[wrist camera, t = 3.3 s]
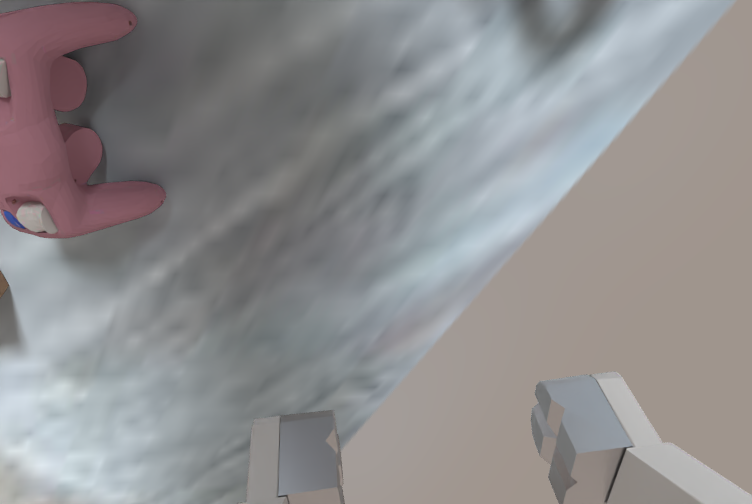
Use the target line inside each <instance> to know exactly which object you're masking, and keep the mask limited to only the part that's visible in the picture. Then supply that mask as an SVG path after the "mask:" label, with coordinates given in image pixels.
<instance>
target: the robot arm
mask: <svg viewBox="0 0 752 504" xmlns="http://www.w3.org/2000/svg"><path fill="white" fill-rule="evenodd" d="M535 395H536V398H537V400H538V404H537V405H536V406H534V408H532V415H531V425H532V434H533V438H534V441H535V445H536V447H537V450H538V453H539V455H540V457H542V458H543V459H544V460H546V461H547V462H548V463H549V464H551V467H550V472H549V476H548V478H549V480H550V483H551V485H552V488H553V490H554V492H555V495H556V497H557V500H558V502H559V504H752V495H750V494H748V493H747V492H745V491H744V490H743V489H741V488H740V487H738V486H736V485H735V484H734V483H732V482H730V481H729V480H727V479H726V478H724V477H723V476H721V475H720V474H718V473H717V472H715V471H714V470H712V469H711V468H709V467H708V466H706V465H705V464H703V463H702V462H700V461H699V460H697V459H695V458H694V457H692V456H691V455H689V454H688V453H686V452H685V451H683V450H682V449H680V448H679V447H677V446H676V445H674V444H673V443H671V442H668V443H663V442H662V441H661V439H660V437H659V436H658V434H657V433H656V431H655V429H654V428H653V426H652V425H651V423H650V421H649V420H648V418H647V417H646V415H645V413H644V412H643V410H642V409H641V407H640V405H639V404H638V402H637V401H636V399H635V397H634V396H633V394H632V392H631V391H630V389H629V388H628V386H627V384H626V383H625V381H624V380H623V378H622V376H621V375H620V374H618V373H617V372H606V373H600V374H593V375H580V376H573V377H567V378H561V379H553V380H547V381H540V382H539V383H538V384H537V385H536V390H535ZM342 485H343V473H342V462H341V452H340V444H339V437H338V434H337V430H336V419H335V414H334V410H327V411H318V412H309V413H299V414H290V415H280V416H272V417H264V418H257V419H254V422H253V425H252V431H251V443H250V456H249V469H248V482H247V494H246V502H241V503H238V504H345V503H344V496H343V490H342Z"/></svg>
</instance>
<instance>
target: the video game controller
mask: <svg viewBox="0 0 752 504" xmlns="http://www.w3.org/2000/svg"><path fill="white" fill-rule="evenodd" d="M136 25H137V18H136V16H135V15H134V14H133V13H132V12H131V11H129V10H128V9H126V8H124V7H121V6H119V5H116V4H111V3H98V2H70V3H62V4H53V5H45V6H38V7H33V8H27V9H22V10H17V11H12V12H6V13H1V14H0V209H1V214H2V215H3V217H4V219H5V221H6V222H7V223H8V224H9V225H10V226H11V227H13V228H14V229H16V230H18V231H21V232H24V233H28V234H32V235H36V236H39V237H44V238H71V237H76V236H80V235H84V234H88V233H91V232H94V231H98V230H101V229H104V228H108V227H111V226H114V225H117V224H121V223H124V222H127V221H131V220H134V219H138V218H140V217H143V216H145V215H148V214H150V213H152V212H153V211H155V210H156V209H157V208H159V207H160V206H161V205H162V204H163V202H164V200H165V198H166V192H165V190H164V189H163V188H162V187H160V186H159V185H157V184H152V183H148V182H141V181H123V182H112V183H102V184H95V185H87V181H88V179H89V178H90V176H91V174H92V173H93V172H94V170H95V169H96V168H97V166H98V165H99V163H100V161H101V158H102V144H101V141H100V138H99V137H98V135H97V134H96V133H95V132H94V131H93V130H91V129H88V128H84V127H81V126H77V125H73V124H67V123H65V124H60V125H58V122H57V118H56V115H55V112H54V110H57V111H62V112H65V111H72V110H74V109H76V108H77V107H79V106H80V105H81V104H82V102H83V100H84V99H85V95H86V90H87V80H86V75H85V72H84V69H83V68H82V66H81V65H80V64H79V63H78V62H77V61H75V60H72V59H70V58H68V57H64V56H62V55H64V54H67V53H69V52H72V51H75V50H77V49H80V48H84V47H88V46H93V45H97V44H102V43H106V42H110V41H115V40H118V39H119V38H121V37H123V36H125V35H127V34H128V33H130V32H131V31H132V30H133V29H134V28H135V26H136Z"/></svg>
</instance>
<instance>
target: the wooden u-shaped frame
mask: <svg viewBox="0 0 752 504" xmlns="http://www.w3.org/2000/svg"><path fill="white" fill-rule="evenodd" d="M8 286H9V285H8V283H7V281H6V280H5V278H4V276H3V275H2V273H1V271H0V298H1V297H2V295H3V294H4V292H5V291H6V289H7V288H8Z"/></svg>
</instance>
